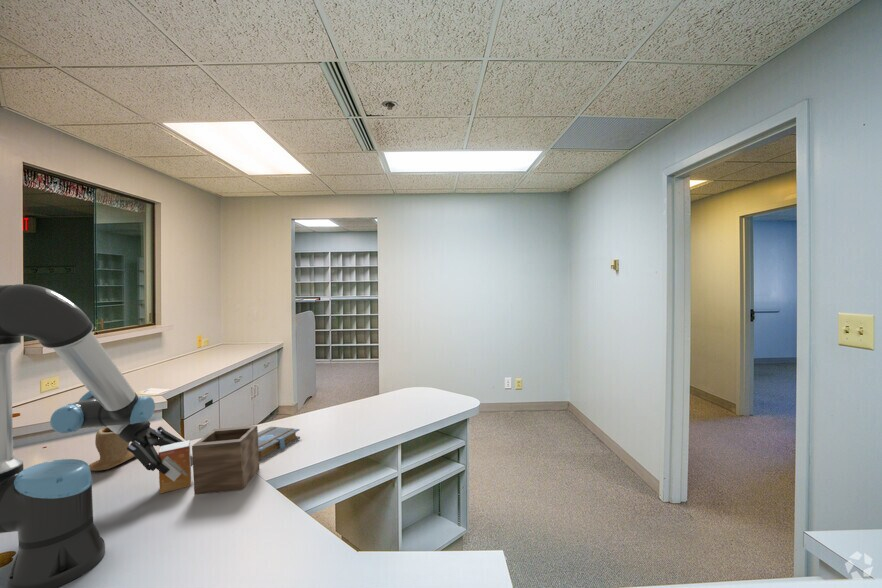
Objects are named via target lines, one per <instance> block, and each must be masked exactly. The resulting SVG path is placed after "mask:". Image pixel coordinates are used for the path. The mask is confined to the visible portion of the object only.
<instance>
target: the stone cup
mask: <svg viewBox="0 0 882 588" xmlns="http://www.w3.org/2000/svg"><path fill="white" fill-rule="evenodd" d="M94 443H95V448H96V449H97V452H98V455H99V459H98V460H95V461H94V462H92V463H90V464H88V466H89V467H90V471H95V472H96V471H97V472H98V471H106V470H109V469H110V470H111V468H114V467H117V466H119V465H121V464H123V463H125V462H127V461H129V460H131V459H133V458H136V457H135V455H134V454H133V453H132V452H130V451H128V450H127V447H128V446H129V445H130V444H131V442H129V443H127V442H125V441H124V440H123V439H122V438H120V437H119V434H115V433H114V432H113V431H112V430H110V429H109V428H108V427H107V426H102V428H99V429H98V431H96V433H95V441H94Z"/></svg>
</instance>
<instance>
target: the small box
mask: <svg viewBox="0 0 882 588" xmlns="http://www.w3.org/2000/svg"><path fill="white" fill-rule="evenodd" d="M182 441H183V442H177V443H173V444H169V445H164V446H159V450H158V452H157V453H158V456H159V457H160V459H161V461H162V462H163V461H166V462H167V463H169V464H170V465H171V466H172V467H174V468H175V469H176V470H178V471H179V472H180V473H181V475H180V476H179V477H178V478H177V479H176V480H175V481H172V480H171V479H170V478H169V477H167V476H166V475H165V474H162V473H161V472H160V471H159V470H158V476H159V477H158V479H159V481H158V483H159V494H163V493H168V492H171V491H176V490H178V489H183V488H186V487H191V484H192V466H191V458H190V454H191V440H190V439H188V440H182Z"/></svg>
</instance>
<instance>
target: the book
mask: <svg viewBox="0 0 882 588" xmlns="http://www.w3.org/2000/svg"><path fill="white" fill-rule="evenodd" d="M299 431H300V428H292V427H279V426H269V427H267V428H264V429H263V430H261V431H258V450H259V462H260V461H263V460H265V459H266V458H268V457H270V456H272V455H273V454H276V453H277V452H278V451H281V450H283V449H285V448H286V447H287V446H289V445H291V444H292V443H294V442H296V441H297V440H299V439H300V438H301V436H298V435H297V434H296V433H297V432H299Z"/></svg>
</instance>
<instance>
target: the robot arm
mask: <svg viewBox="0 0 882 588" xmlns="http://www.w3.org/2000/svg"><path fill="white" fill-rule="evenodd" d="M93 330H94V323H92V321H91V320H90V318H89V316H88V315H87V314H86V313H85V312H84V311H83V310H82V309H81V308H80V307H78V305H76V304H75V303H74V302H72V301H71V300H70V299H68V298H67V297H65V296H64V295H62V294H60V293H58V292H57V291H55V290H53V289H49V288H47V287H44V286H40V285H35V284H28V283H25V284H24V283H23V284H22V283H21V284H9V285H8V284H2V285H1V284H0V534H4V533H12V532H17V537H18V551H17V554H16V557H15V559H14V562H13V565H12V567H11V571H10V573H9V576H8V578H7V588H59V587H62V586H63V585H66V584H68V583H70V582H72V581H74V580H75V579H77V578H80V577H81V576H82V575H84V574H86V573H88V572H89V571H90V570H92V569H93V568H94V567H96V566H97V565H98V564H99V563H100V562H101V560H103V558H104V556H105V554H106V542H105V540H104V539H103V537H101V534H100V533H99V531H98V529H97V527H96V525H95V521H94V509H93V508H94V504H93V487H92V486H93V485H92V484H93V476H92V473H91V470H90V467H89V463H87V462H86V461H84V460H80V459H75V458H65V459H64V458H61V459H55V460H53V461H43V462H41V463H38V464H34V465H31V466H29V467H26V468H25V469H24V460H23V459H21V458H18V457H17V456H15V455H14V439H13V437H14V436H13V435H14V433H13V431H14V430H13V429H14V428H13V391H12V390H13V382H12V380H13V379H12V376H13V375H12V352H13V350H15V349H16V348H17V347H19V346H20V345H21V344H22V339H21V338H22V337H23V336H24V337H28V338H29V337H31V338H33V339H36V340H37V341H38V342H39V343H40V344H41V345H42V346H43V347H44V348H47V349H53V350H54V352H55V353H56V354H57V355H58V357H60V359H61V360H62V361H63V362H64V363H65V364H66V366H67V367H68V368H69V369H70V370H71V371H72V373H73V374H74V375H75V376H76V378H77V379H78V380H79V381H80V382H81V383H82V385H84V387H85V388H86V389H87V390H88V391H87V392H86V393H84V394H83V395H82V396H81V397H79V400H78V401H76V402H73V403H68V404H66V405H63V406H61V407H59V408H57V409H56V410H54V411H53V413H52V415H51V416H50V426H51V428H52V429H53V430H54V431H55V432H56V433H60V434H69V433H73V432H77V431H79V430H80V429H88V428H99V427H100V428H101V427H102V428H103V427H105V426H107V427H108V428H109V429H110V430H112V431H113V432H114V433H115V434H119V437H120V438H122V439H123V440H124V441H125V442H127V443H129V442H130V443H129V446H128V447H127V450H128V451H130V452H132V453H133V454H134V455H135V457H134V458H136V459H137V460H138V461H139V463H140V464H142V466H143V467H144V468H145V469H146V470H147V471H153V472H154V471H155V470H157V471H158V472H159V471H160V472H161V473H162V474H165V475H166V476H167V477H169V478H170V479H171V480H172V481H175V480H176V479H177V478H178V477H179V476H180V475H181V473H180V472H179V471H178V470H176V469H175V468H174V467H172V466H171V465H170V464H169V463H167V462H166V461H163V462H162V461H161V459H160V457H159V456H158V453H159V452H158V451H157V450H156V449H155V447H157V446H158V447H160V446H164V445H169V444H173V443H177V442H183V441H184V440H183V439H181V438H178V437H177V436H175V435H173V434H172V433H170V432H168V431H167V430H165V428H164V427H162V426H158V427H157V428H156V429H154V428H152V427H150V426H151V422H150V419H152V417H153V414H154V413H155V408H156V405H155V404H156V403H155V400H154V399H153V398H152V397H151V396H149V395H148V396H144V395H142V396H141V395H140V396H139V395H138V394H137V393H136V392H135V390H134V389H133V387H132V385H130V383H129V381H128V380H127V379H126V378H125V376H124V375H123V374H122V372H121V370H120V369H119V368H118V366H117V365H116V364H115V362H114V361H113V359H112V358H111V357H110V355H109V353H107V351H106V349H105V348H104V347H103V345H102V344H101V343H100V341H99V340H98V338H96V336H95V334H94V333H93ZM190 458H191V467H193V457H192V453H190Z"/></svg>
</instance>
